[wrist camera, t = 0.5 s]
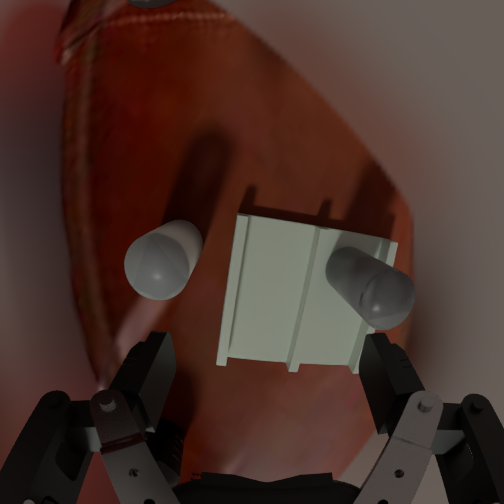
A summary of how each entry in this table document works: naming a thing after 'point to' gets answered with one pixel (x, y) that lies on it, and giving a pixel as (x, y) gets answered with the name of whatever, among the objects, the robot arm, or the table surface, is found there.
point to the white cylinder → (163, 259)
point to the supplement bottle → (167, 449)
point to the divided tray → (291, 294)
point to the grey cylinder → (371, 287)
